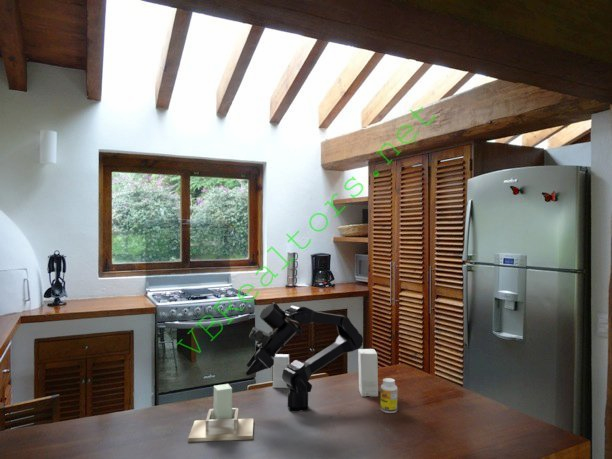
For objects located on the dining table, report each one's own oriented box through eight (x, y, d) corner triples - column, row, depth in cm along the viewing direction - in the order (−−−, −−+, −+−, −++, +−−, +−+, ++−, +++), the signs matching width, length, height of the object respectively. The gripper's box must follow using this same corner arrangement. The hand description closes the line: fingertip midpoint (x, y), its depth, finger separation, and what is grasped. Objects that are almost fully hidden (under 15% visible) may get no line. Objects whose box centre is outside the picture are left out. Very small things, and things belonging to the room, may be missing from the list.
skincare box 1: (289, 384, 169) (289, 354, 169) (287, 388, 165) (288, 357, 165) (274, 384, 170) (274, 353, 170) (272, 387, 165) (272, 356, 166)
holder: (253, 421, 134) (253, 405, 134) (252, 439, 122) (252, 421, 123) (194, 423, 133) (194, 407, 133) (188, 441, 121) (188, 423, 121)
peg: (227, 423, 130) (228, 383, 131) (231, 429, 126) (232, 388, 127) (213, 426, 128) (213, 385, 129) (216, 432, 125) (217, 390, 125)
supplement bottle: (377, 408, 145) (377, 378, 146) (391, 406, 148) (391, 376, 148) (386, 414, 140) (386, 383, 141) (400, 412, 142) (400, 381, 143)
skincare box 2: (378, 397, 156) (378, 354, 157) (360, 396, 156) (360, 353, 157) (374, 389, 165) (374, 348, 165) (357, 389, 165) (357, 348, 165)
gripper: (263, 314, 153) (231, 346, 151) (263, 324, 134) (227, 361, 133) (285, 336, 153) (254, 368, 152) (288, 349, 135) (252, 386, 133)
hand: (246, 370), depth 142 cm, fingers open, 9 cm apart
